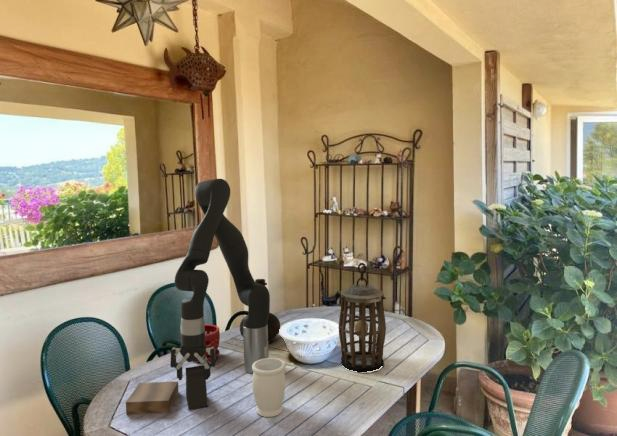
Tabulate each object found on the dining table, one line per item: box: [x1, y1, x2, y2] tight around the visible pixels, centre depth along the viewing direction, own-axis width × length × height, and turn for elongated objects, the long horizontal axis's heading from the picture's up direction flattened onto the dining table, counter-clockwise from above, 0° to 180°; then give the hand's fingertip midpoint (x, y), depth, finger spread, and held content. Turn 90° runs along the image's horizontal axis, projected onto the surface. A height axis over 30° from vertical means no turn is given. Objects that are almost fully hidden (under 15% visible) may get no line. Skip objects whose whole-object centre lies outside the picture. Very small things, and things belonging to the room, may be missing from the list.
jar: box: [251, 357, 286, 418], centre depth 140 cm, size 11×10×15 cm
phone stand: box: [185, 364, 209, 411], centre depth 145 cm, size 9×6×12 cm, turn 20°
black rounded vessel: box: [239, 278, 281, 344], centre depth 198 cm, size 18×18×28 cm
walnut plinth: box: [125, 380, 180, 415], centre depth 146 cm, size 13×13×4 cm
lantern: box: [338, 262, 387, 372], centre depth 172 cm, size 19×19×40 cm
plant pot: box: [197, 324, 221, 363], centre depth 181 cm, size 13×13×12 cm
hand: (193, 378), depth 145 cm, fingers open, 8 cm apart
